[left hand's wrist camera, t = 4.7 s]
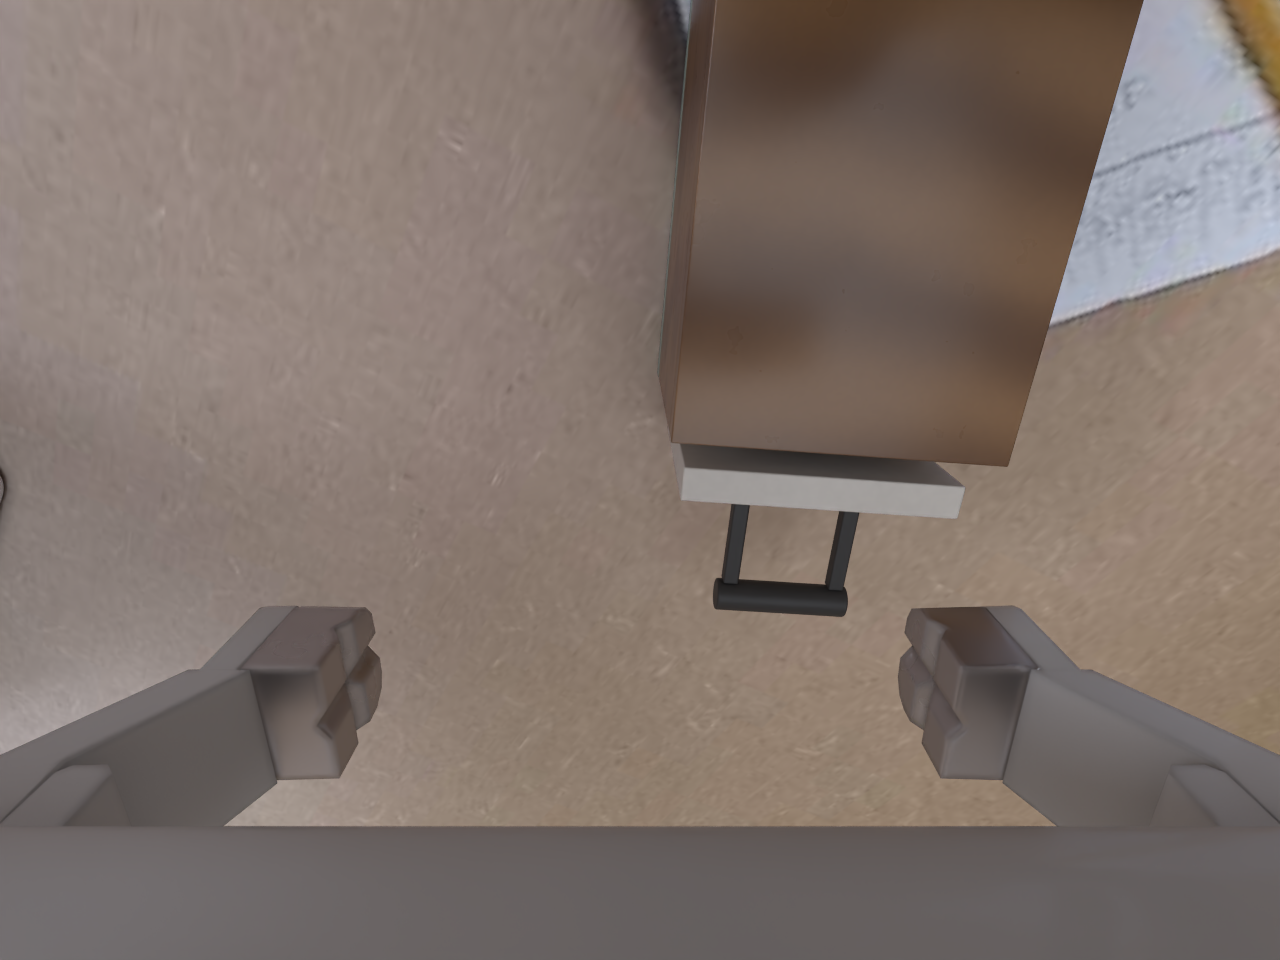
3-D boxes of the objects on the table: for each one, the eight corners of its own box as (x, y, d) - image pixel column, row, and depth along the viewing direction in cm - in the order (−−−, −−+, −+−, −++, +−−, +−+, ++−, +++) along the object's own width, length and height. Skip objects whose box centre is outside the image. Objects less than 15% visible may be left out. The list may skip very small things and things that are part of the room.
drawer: (851, 556, 33) (919, 660, 25) (655, 543, 32) (664, 645, 25) (975, -20, 25) (1132, -127, 17) (713, -46, 24) (753, -168, 16)
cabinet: (892, 390, 31) (1008, 467, 21) (657, 372, 30) (670, 443, 21) (1004, -128, 24) (1246, -349, 15) (705, -162, 24) (756, -411, 14)
